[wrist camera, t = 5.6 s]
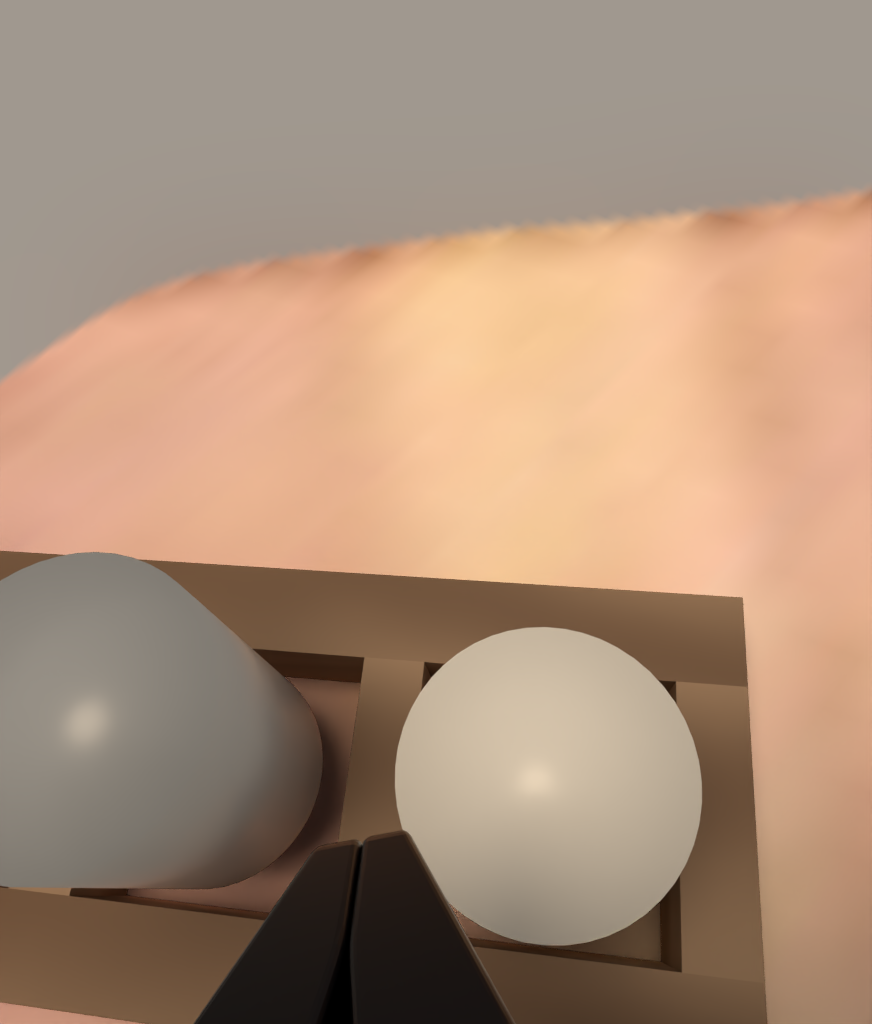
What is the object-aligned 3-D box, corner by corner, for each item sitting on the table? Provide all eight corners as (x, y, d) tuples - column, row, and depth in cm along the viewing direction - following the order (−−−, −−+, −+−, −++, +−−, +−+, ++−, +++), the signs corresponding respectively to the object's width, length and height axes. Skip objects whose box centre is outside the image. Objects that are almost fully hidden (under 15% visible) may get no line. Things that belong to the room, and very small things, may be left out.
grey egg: (361, 713, 16) (279, 625, 11) (249, 934, 15) (89, 958, 9) (185, 627, 17) (32, 509, 12) (64, 823, 16) (-173, 788, 11)
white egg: (675, 759, 17) (743, 698, 12) (599, 971, 16) (638, 1011, 10) (487, 675, 18) (471, 585, 13) (401, 864, 17) (341, 849, 12)
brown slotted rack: (736, 1082, 16) (772, 1115, 13) (-221, 947, 18) (-325, 954, 16) (717, 631, 19) (742, 597, 17) (-76, 577, 22) (-144, 541, 20)
